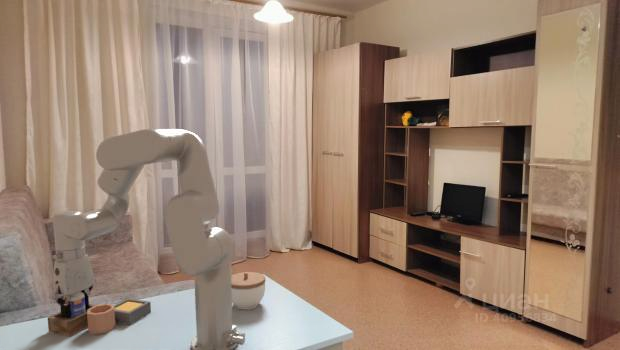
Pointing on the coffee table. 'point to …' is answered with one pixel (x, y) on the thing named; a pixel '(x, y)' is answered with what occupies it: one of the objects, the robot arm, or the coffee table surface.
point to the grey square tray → (132, 312)
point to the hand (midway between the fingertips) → (75, 312)
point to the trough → (68, 324)
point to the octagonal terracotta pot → (101, 318)
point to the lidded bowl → (247, 289)
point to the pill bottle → (77, 304)
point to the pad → (128, 306)
